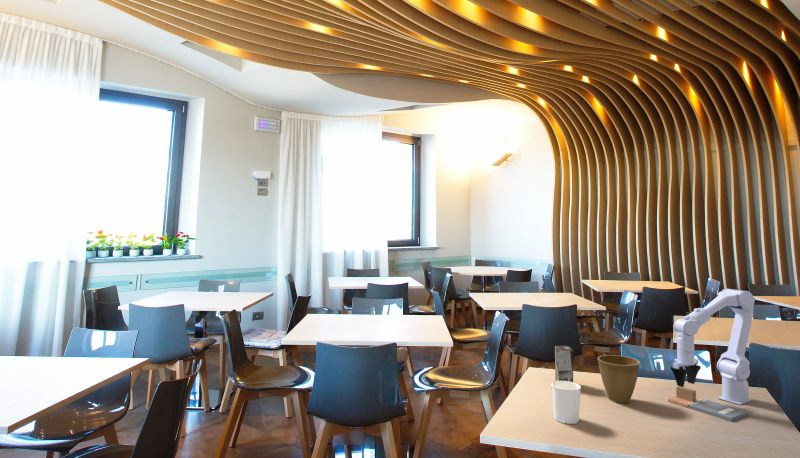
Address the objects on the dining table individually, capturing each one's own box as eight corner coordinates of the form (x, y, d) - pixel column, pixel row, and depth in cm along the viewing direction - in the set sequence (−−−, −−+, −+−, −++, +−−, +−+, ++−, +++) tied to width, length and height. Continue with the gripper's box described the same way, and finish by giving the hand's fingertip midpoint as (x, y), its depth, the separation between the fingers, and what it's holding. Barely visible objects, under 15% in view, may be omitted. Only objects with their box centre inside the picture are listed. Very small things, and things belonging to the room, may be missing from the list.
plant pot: (611, 391, 184) (611, 353, 184) (647, 402, 171) (647, 361, 171) (590, 397, 176) (589, 357, 176) (625, 410, 163) (625, 367, 163)
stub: (684, 396, 178) (684, 383, 178) (704, 401, 172) (704, 389, 172) (668, 401, 172) (668, 388, 172) (687, 407, 166) (687, 394, 166)
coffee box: (573, 388, 186) (573, 350, 187) (558, 387, 188) (557, 349, 188) (570, 382, 195) (569, 345, 196) (554, 380, 196) (554, 344, 197)
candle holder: (580, 416, 157) (580, 382, 157) (582, 426, 148) (581, 391, 148) (551, 412, 160) (551, 379, 161) (551, 422, 151) (551, 387, 151)
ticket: (705, 402, 171) (705, 399, 171) (747, 415, 159) (747, 411, 159) (688, 408, 165) (688, 404, 165) (731, 421, 153) (731, 417, 153)
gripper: (685, 345, 179) (685, 379, 179) (664, 349, 172) (664, 384, 172) (703, 349, 173) (704, 384, 173) (683, 353, 166) (683, 389, 166)
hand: (685, 384), depth 172 cm, fingers open, 7 cm apart
